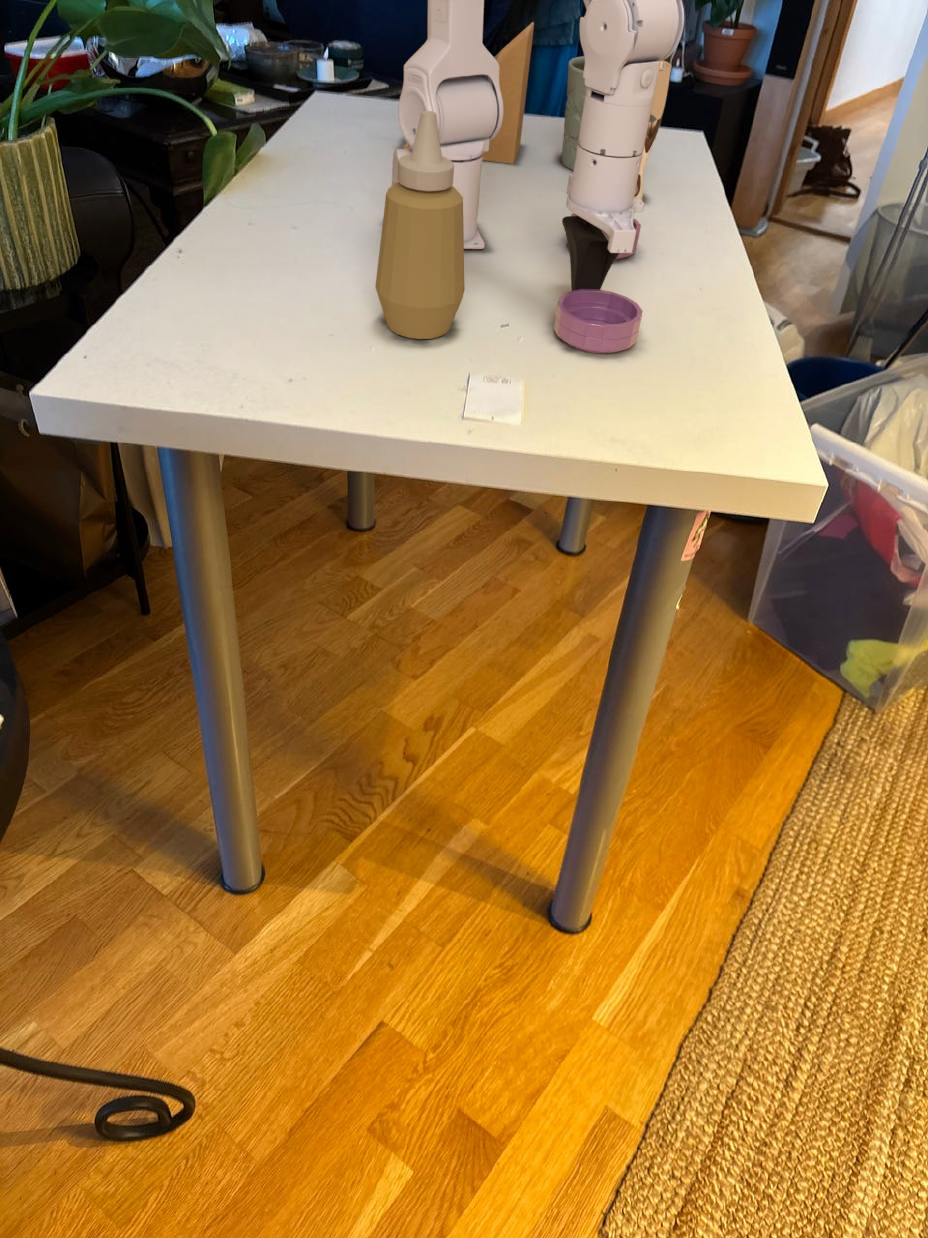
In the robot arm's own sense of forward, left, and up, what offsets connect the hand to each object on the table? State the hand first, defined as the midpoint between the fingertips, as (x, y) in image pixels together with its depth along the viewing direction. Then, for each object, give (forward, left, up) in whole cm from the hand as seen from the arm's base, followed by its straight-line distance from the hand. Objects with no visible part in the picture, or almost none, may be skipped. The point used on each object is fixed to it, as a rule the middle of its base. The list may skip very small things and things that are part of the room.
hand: (583, 298), depth 88 cm
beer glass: (+14, +34, -2) cm, 37 cm away
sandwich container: (-3, +52, -2) cm, 52 cm away
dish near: (0, -5, -2) cm, 5 cm away
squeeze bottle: (-17, -2, -2) cm, 17 cm away
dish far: (+7, +17, -2) cm, 18 cm away
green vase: (+14, +46, -2) cm, 48 cm away
